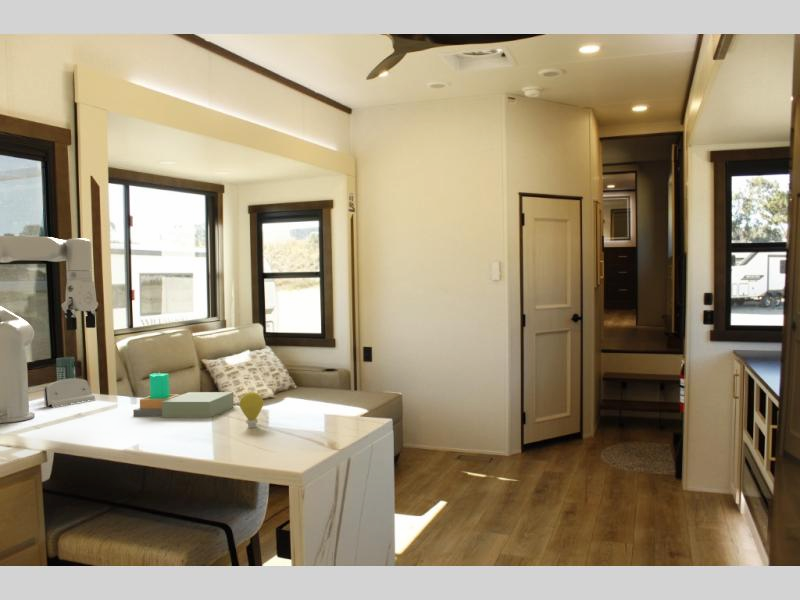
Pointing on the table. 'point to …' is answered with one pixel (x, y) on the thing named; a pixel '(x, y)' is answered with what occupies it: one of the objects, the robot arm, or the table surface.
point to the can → (65, 368)
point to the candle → (159, 386)
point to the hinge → (67, 392)
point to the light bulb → (251, 407)
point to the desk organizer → (186, 405)
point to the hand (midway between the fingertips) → (81, 328)
